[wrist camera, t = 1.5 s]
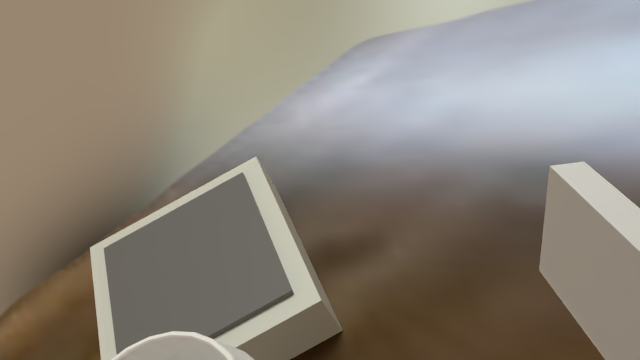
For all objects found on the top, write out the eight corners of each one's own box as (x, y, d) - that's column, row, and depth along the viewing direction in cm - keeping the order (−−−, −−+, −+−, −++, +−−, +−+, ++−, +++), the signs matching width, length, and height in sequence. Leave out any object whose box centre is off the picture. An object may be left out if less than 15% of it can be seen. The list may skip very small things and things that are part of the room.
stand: (276, 188, 53) (253, 152, 50) (342, 330, 42) (318, 296, 38) (120, 274, 53) (86, 244, 50) (144, 439, 42) (102, 415, 38)
